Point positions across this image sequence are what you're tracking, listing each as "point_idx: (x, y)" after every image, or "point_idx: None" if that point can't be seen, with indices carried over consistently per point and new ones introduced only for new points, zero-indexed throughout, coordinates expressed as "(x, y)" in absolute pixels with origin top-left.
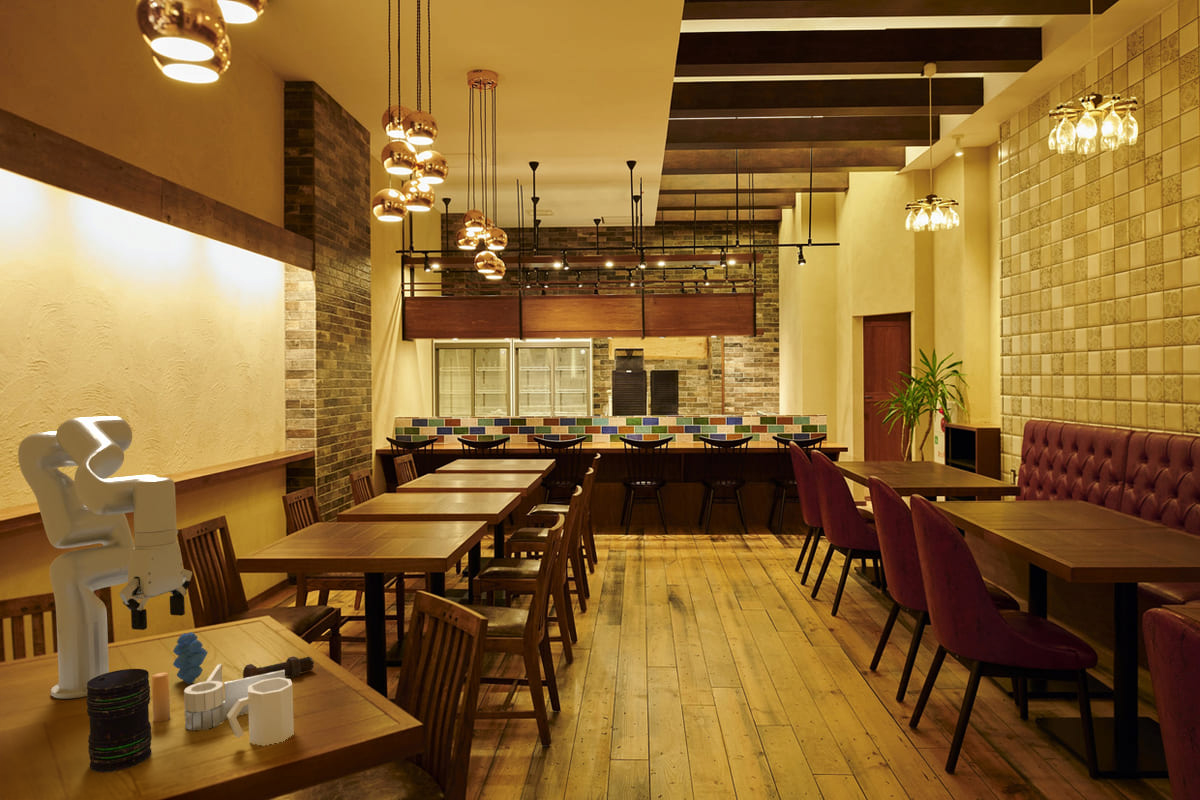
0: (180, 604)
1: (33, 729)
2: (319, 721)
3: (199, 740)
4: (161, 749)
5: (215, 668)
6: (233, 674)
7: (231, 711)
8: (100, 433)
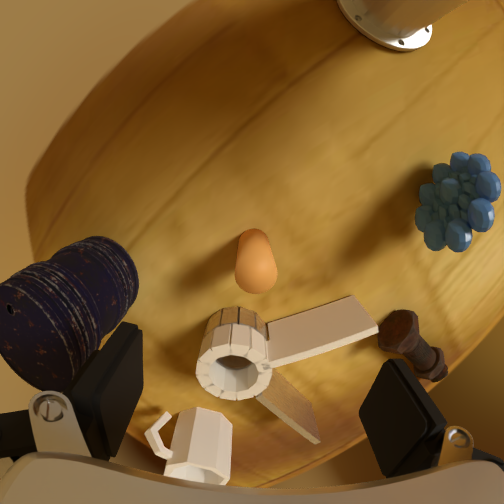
0: (375, 447)
1: (201, 27)
2: (249, 449)
3: (175, 355)
4: (139, 318)
5: (350, 337)
6: (451, 254)
7: (151, 436)
8: None
